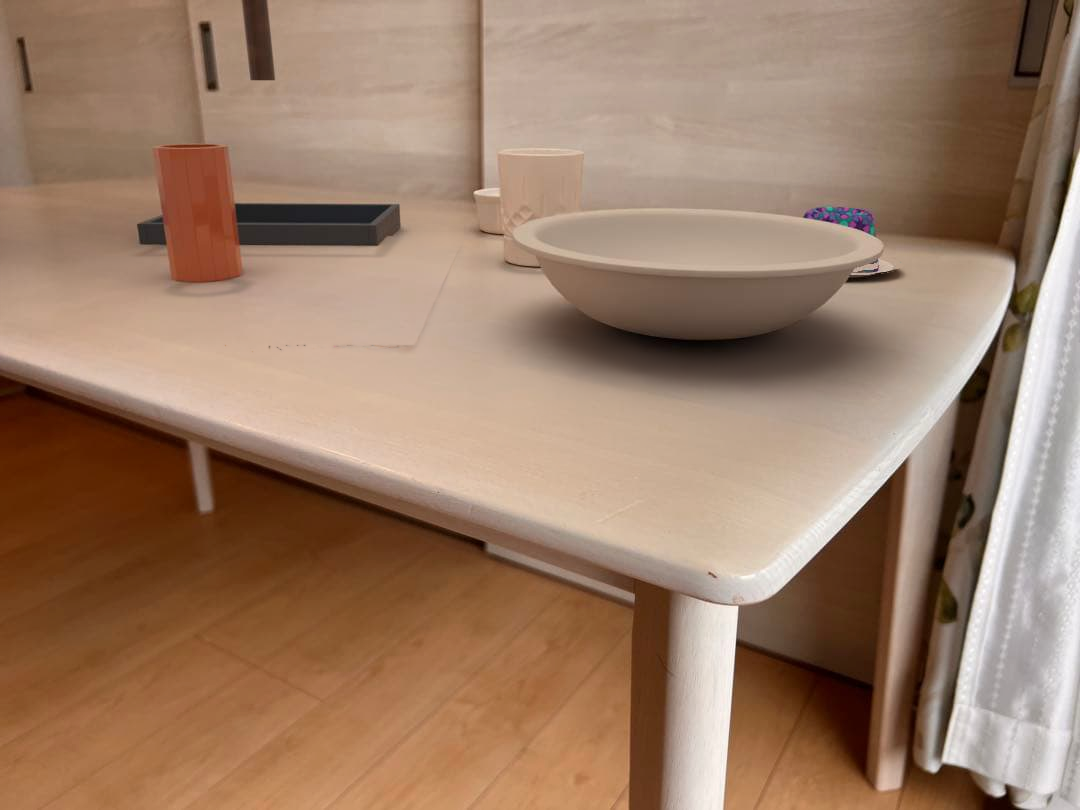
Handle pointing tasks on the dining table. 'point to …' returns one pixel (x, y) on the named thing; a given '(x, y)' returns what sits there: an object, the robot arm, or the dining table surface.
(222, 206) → the crock
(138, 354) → the dining table surface
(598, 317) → the soup bowl
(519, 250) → the white cup
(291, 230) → the tray
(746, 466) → the dining table surface
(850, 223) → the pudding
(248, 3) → the stick
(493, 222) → the ramekin
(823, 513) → the dining table surface
